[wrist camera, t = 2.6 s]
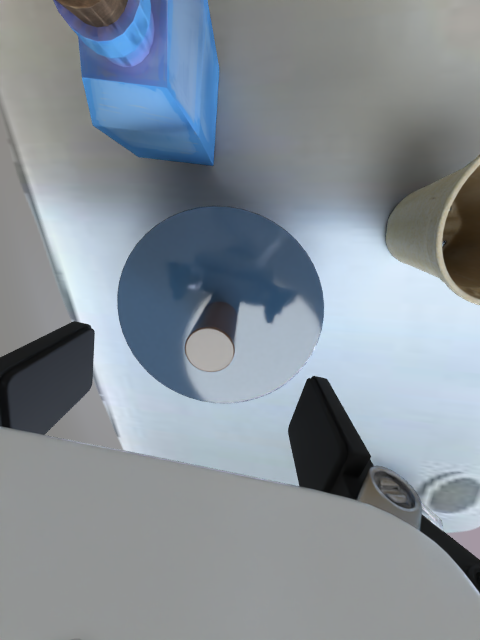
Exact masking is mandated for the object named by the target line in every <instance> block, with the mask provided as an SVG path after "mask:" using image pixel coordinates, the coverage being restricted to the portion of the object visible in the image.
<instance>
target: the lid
mask: <svg viewBox="0 0 480 640" xmlns="http://www.w3.org/2000/svg"><path fill="white" fill-rule="evenodd" d="M118 315H119V321H120V325H121V328H122V332H123V335H124V337H125V339H126V342H127V344H128V346H129V348H130V349H131V351H132V353H133V355H134V356H135V357H136V359H137V360H138V361H139V363H140V364H141V365H142V366H143V367H144V368H145V369H146V371H147V372H148V373H149V374H151V375H152V376H153V377H154V378H155V379H156V380H158V381H159V382H160V383H162V384H163V385H165V386H166V387H168V388H170V389H171V390H173V391H175V392H177V393H179V394H182V395H184V396H187V397H189V398H193V399H196V400H200V401H205V402H211V403H238V402H244V401H249V400H253V399H256V398H259V397H262V396H264V395H267V394H269V393H271V392H273V391H275V390H277V389H278V388H280V387H281V386H283V385H284V384H286V383H287V382H288V381H290V380H291V379H292V378H293V377H294V376H295V375H296V374H297V373H298V372H299V371H300V370H301V369H302V368H303V366H304V365H305V364H306V363H307V361H308V359H309V358H310V356H311V355H312V353H313V351H314V349H315V347H316V345H317V343H318V339H319V336H320V333H321V330H322V324H323V318H324V300H323V291H322V287H321V284H320V280H319V277H318V274H317V272H316V269H315V267H314V265H313V263H312V261H311V260H310V258H309V256H308V255H307V253H306V251H305V250H304V249H303V248H302V246H301V245H300V244H299V243H298V242H297V240H296V239H294V238H293V237H292V236H291V235H290V234H289V233H288V232H287V231H286V230H284V229H283V228H282V227H280V226H279V225H277V224H276V223H275V222H273V221H271V220H269V219H267V218H265V217H263V216H261V215H259V214H256V213H253V212H250V211H247V210H244V209H239V208H234V207H225V206H209V207H199V208H195V209H191V210H187V211H183V212H181V213H178V214H176V215H173V216H171V217H169V218H167V219H166V220H164V221H162V222H161V223H159V224H157V225H156V226H155V227H154V228H152V229H151V230H150V231H149V232H148V233H146V234H145V235H144V237H143V238H142V239H141V240H140V241H139V242H138V243H137V244H136V246H135V247H134V249H133V251H132V252H131V254H130V255H129V257H128V259H127V261H126V263H125V266H124V268H123V271H122V274H121V278H120V281H119V288H118Z"/></svg>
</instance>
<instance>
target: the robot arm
mask: <svg viewBox="0 0 480 640" xmlns="http://www.w3.org/2000/svg"><path fill="white" fill-rule="evenodd" d="M94 334H95V333H94V330H93V329H91V326H90V325H88V324H84V323H80V322H75V321H74V322H71V323H69V324H67V325H66V326H63V327H61V328H59V329H57V330H55V331H53V332H51V333H49V334H47V335H45V336H43V337H41V338H39V339H37V340H35V341H33V342H31V343H29V344H27V345H25V346H23V347H21V348H19V349H17V350H15V351H13V352H11V353H9V354H6V355H4V356H2V357H0V640H480V560H479V559H478V558H476V557H475V556H474V555H473V554H472V553H470V552H469V551H468V550H467V549H465V548H464V547H463V546H461V545H460V544H459V543H458V542H456V541H455V540H454V539H453V538H451V537H450V536H449V535H447V534H446V533H445V532H444V531H442V530H441V529H440V528H439V527H437V526H436V525H435V524H434V523H432V522H431V521H430V520H428V519H427V518H426V517H425V516H423V515H422V503H421V500H420V498H419V496H418V494H417V493H416V491H415V490H414V489H413V487H412V486H411V485H410V484H409V483H408V482H407V481H406V480H405V479H404V478H402V477H401V476H400V475H398V474H397V473H395V472H394V471H392V470H390V469H388V468H385V467H382V466H373V464H372V462H371V460H370V458H371V456H370V454H369V452H368V450H367V448H366V447H365V445H364V443H363V441H362V440H361V438H360V436H359V434H358V433H357V431H356V429H355V427H354V426H353V424H352V422H351V420H350V419H349V417H348V415H347V413H346V412H345V410H344V408H343V406H342V404H341V403H340V401H339V399H338V397H337V396H336V394H335V392H334V390H333V389H332V387H331V385H330V383H329V382H328V380H327V379H325V378H321V377H316V376H313V377H312V378H311V379H310V378H308V379H307V381H306V383H305V386H304V389H303V391H302V394H301V396H300V399H299V401H298V404H297V406H296V409H295V412H294V414H293V417H292V419H291V422H290V424H289V428H288V434H289V439H290V444H291V449H292V453H293V458H294V463H295V467H296V472H297V477H298V481H299V486H295V485H290V484H285V483H281V482H276V481H271V480H266V479H261V478H257V477H252V476H247V475H242V474H237V473H233V472H228V471H223V470H218V469H213V468H208V467H204V466H199V465H194V464H189V463H184V462H179V461H174V460H169V459H164V458H159V457H154V456H149V455H144V454H139V453H134V452H129V451H124V450H119V449H114V448H108V447H104V446H98V445H93V444H88V443H83V442H78V441H72V440H68V439H62V438H57V437H52V436H47V435H45V434H46V433H47V432H48V430H50V429H51V427H53V426H54V425H55V424H56V423H57V422H58V421H59V420H60V419H61V418H62V417H63V416H64V415H65V414H66V413H67V412H68V411H69V410H70V409H71V408H72V407H73V406H74V405H75V404H76V403H77V402H78V401H79V400H80V399H81V398H82V397H83V396H84V395H85V394H86V393H87V392H88V391H89V390H90V388H91V386H92V378H93V356H94Z"/></svg>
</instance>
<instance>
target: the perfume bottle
mask: <svg viewBox="0 0 480 640" xmlns="http://www.w3.org/2000/svg"><path fill="white" fill-rule="evenodd" d="M53 1H54V3H55V5H56V7H57V9H58V12H59V13H60V14H61V16H62V17H63V18H64V19H65V21H66V22H67V23H68V25H69V26H70V27H71V28H72V29H73V31H74V32H75V33H76V34H77V35H78V39H79V50H80V61H81V72H82V80H83V84H84V88H85V93H86V97H87V102H88V106H89V110H90V115H91V119H92V124H93V126H95V127H96V128H97V129H99V130H100V131H102V132H103V133H105V134H106V135H107V136H109V137H110V138H112V139H113V140H115V141H116V142H118V143H119V144H120V145H122V146H123V147H125V148H126V149H128V150H129V151H131V152H132V153H133V154H135V155H136V156H138V157H143V158H151V159H160V160H168V161H177V162H185V163H193V164H202V165H210V166H213V165H214V148H215V132H216V116H217V100H218V84H219V64H218V58H217V52H216V46H215V41H214V35H213V29H212V23H211V18H210V12H209V6H208V0H53Z"/></svg>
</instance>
